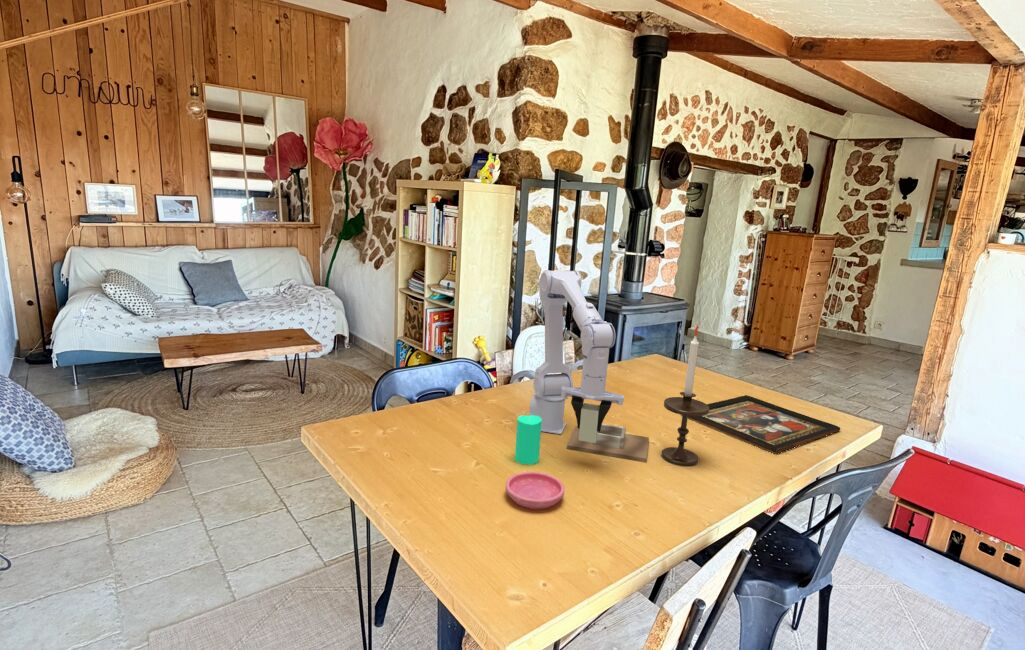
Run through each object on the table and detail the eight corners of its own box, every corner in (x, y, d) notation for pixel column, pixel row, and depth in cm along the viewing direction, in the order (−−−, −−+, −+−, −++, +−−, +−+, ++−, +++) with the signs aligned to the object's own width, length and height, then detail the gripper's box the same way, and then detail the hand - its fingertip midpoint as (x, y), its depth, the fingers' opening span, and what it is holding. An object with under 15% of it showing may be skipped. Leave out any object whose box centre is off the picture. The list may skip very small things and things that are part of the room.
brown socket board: (566, 448, 143) (567, 434, 143) (575, 428, 157) (576, 415, 156) (646, 462, 138) (648, 447, 137) (648, 440, 152) (650, 427, 151)
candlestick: (701, 471, 135) (721, 330, 128) (655, 462, 139) (672, 324, 131) (702, 454, 145) (721, 322, 138) (659, 445, 149) (675, 317, 141)
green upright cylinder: (542, 456, 138) (545, 411, 135) (535, 467, 132) (538, 419, 130) (519, 452, 140) (522, 406, 137) (511, 462, 134) (514, 414, 132)
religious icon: (791, 462, 144) (793, 451, 144) (673, 420, 170) (674, 411, 170) (844, 431, 169) (845, 422, 169) (734, 398, 195) (735, 390, 194)
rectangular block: (578, 440, 132) (581, 408, 131) (581, 434, 136) (584, 403, 135) (595, 443, 131) (598, 411, 130) (597, 436, 135) (600, 405, 134)
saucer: (572, 510, 115) (573, 496, 114) (514, 517, 111) (515, 502, 110) (551, 481, 126) (552, 468, 125) (498, 486, 122) (499, 473, 122)
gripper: (560, 374, 129) (556, 429, 131) (624, 383, 125) (618, 439, 128) (566, 366, 135) (561, 419, 138) (626, 374, 132) (621, 428, 134)
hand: (589, 428), depth 133 cm, fingers closed on rectangular block, 4 cm apart
